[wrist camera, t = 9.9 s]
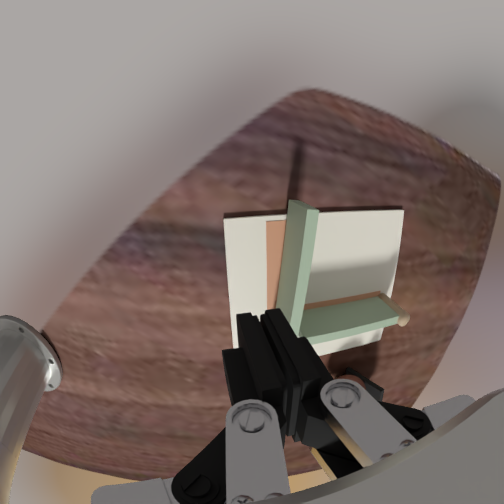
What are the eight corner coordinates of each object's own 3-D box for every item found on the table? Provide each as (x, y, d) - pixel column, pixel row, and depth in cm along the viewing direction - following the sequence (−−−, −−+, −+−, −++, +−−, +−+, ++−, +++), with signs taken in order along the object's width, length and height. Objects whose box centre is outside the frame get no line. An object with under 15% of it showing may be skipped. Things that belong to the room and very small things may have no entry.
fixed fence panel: (289, 321, 29) (305, 351, 24) (289, 309, 29) (306, 338, 24) (384, 303, 31) (408, 324, 26) (386, 291, 31) (411, 312, 26)
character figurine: (323, 420, 40) (320, 367, 34) (362, 407, 40) (368, 350, 34) (336, 455, 32) (338, 409, 27) (378, 439, 33) (392, 388, 27)
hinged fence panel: (284, 324, 29) (297, 350, 25) (270, 325, 29) (281, 352, 24) (302, 200, 25) (322, 210, 20) (285, 199, 24) (303, 209, 20)
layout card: (235, 368, 31) (235, 370, 30) (223, 218, 25) (223, 219, 24) (378, 338, 34) (380, 340, 34) (401, 209, 28) (404, 210, 27)
